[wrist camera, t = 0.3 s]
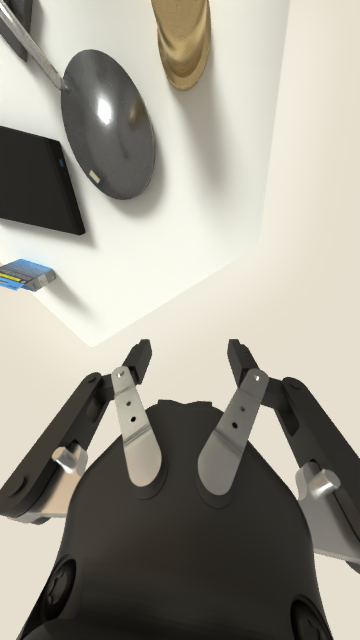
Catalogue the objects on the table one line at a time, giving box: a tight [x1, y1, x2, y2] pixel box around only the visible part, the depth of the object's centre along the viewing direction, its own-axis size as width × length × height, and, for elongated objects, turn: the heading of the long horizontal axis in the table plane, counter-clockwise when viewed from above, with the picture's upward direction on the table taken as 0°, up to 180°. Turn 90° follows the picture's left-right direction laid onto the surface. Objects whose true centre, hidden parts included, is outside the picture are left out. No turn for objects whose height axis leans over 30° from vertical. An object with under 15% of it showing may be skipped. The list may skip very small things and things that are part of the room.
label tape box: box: [0, 259, 56, 292], centre depth 38 cm, size 9×4×12 cm, turn 70°
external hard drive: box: [0, 126, 86, 235], centre depth 27 cm, size 14×23×3 cm, turn 79°
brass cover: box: [151, 0, 211, 91], centre depth 14 cm, size 6×6×10 cm
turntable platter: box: [61, 49, 155, 200], centre depth 22 cm, size 14×14×2 cm
